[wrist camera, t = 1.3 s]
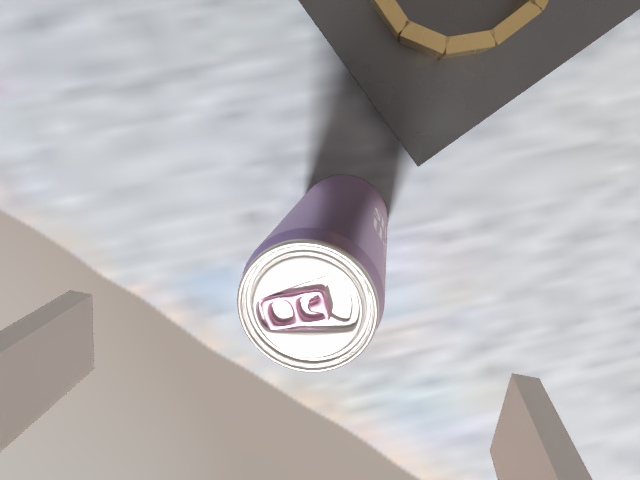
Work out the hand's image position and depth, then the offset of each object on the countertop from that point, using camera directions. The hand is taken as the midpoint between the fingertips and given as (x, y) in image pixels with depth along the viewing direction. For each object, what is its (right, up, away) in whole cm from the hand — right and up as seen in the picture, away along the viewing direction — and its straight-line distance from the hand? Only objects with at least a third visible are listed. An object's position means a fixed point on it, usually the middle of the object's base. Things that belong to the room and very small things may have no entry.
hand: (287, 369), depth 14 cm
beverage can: (+3, +6, +18) cm, 19 cm away
